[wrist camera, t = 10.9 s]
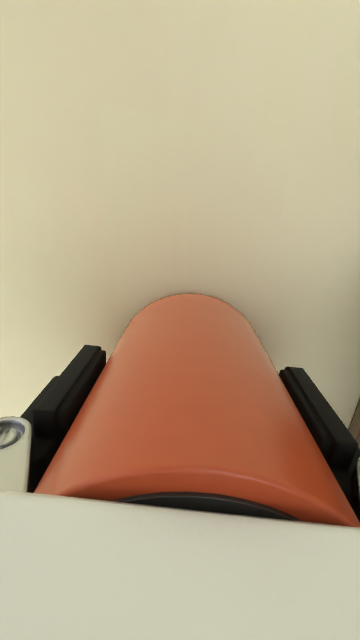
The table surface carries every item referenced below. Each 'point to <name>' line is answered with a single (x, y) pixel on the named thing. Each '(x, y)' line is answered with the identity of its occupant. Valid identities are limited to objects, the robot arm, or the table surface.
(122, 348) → the tin
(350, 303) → the table surface
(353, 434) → the box
